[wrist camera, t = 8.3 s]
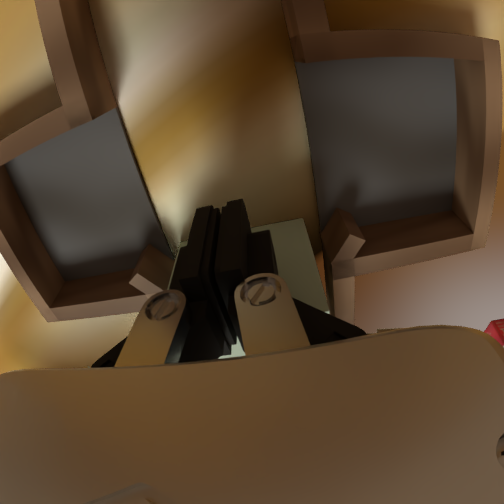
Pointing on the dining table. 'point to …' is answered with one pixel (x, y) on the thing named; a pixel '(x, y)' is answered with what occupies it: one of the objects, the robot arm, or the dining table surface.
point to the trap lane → (322, 155)
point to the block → (290, 266)
